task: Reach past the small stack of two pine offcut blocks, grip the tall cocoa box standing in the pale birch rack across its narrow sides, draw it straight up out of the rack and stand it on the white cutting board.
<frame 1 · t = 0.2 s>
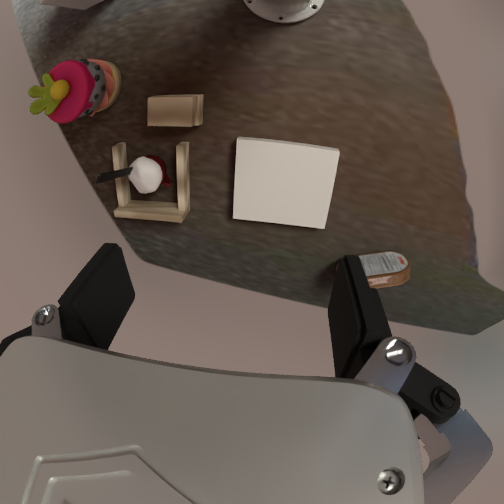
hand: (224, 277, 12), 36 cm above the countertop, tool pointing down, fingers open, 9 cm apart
cocoa: (154, 166, 47), on the countertop
offcut lower: (180, 108, 41), on the countertop, touching offcut upper
cutting board: (283, 181, 46), on the countertop
offcut upper: (174, 109, 39), point 2 cm above the countertop, touching offcut lower
tin: (368, 256, 53), on the countertop
cake: (100, 85, 38), on the countertop
rack: (153, 166, 47), on the countertop
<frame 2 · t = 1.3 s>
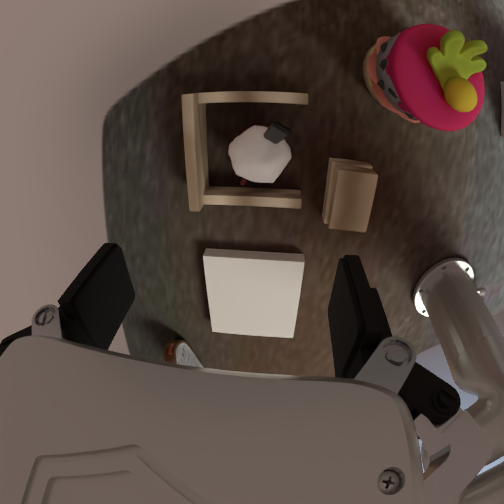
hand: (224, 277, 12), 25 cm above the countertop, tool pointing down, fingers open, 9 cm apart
cocoa: (263, 145, 32), on the countertop
offcut lower: (344, 188, 34), on the countertop, touching offcut upper
cutting board: (253, 293, 45), on the countertop
offcut upper: (349, 194, 32), point 2 cm above the countertop, touching offcut lower
tin: (192, 353, 56), on the countertop
cake: (399, 76, 25), on the countertop
rack: (263, 145, 32), on the countertop
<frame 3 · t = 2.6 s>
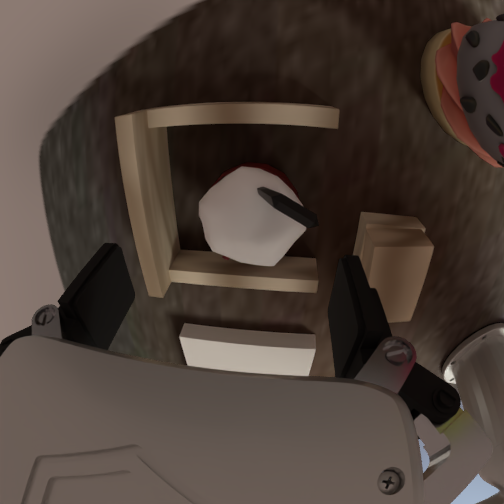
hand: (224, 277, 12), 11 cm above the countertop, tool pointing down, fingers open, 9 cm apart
cocoa: (260, 191, 21), on the countertop
offcut lower: (378, 253, 23), on the countertop, touching offcut upper
cutting board: (248, 371, 33), on the countertop
offcut upper: (387, 268, 21), point 2 cm above the countertop, touching offcut lower
cake: (469, 87, 13), on the countertop
rack: (260, 192, 21), on the countertop
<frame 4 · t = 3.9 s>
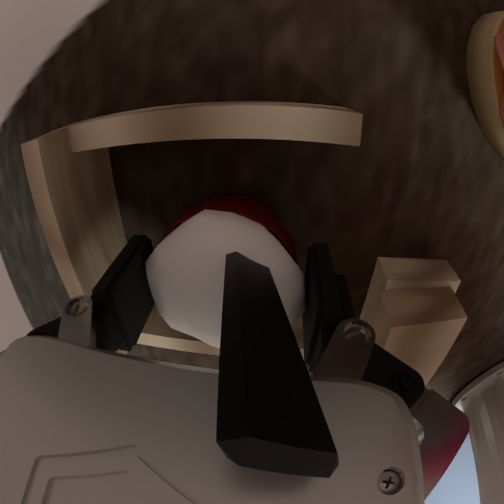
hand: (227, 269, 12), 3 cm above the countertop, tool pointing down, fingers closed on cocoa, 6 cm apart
cocoa: (241, 230, 15), on the countertop, touching gripper
offcut lower: (395, 303, 17), on the countertop, touching offcut upper
offcut upper: (401, 332, 15), point 2 cm above the countertop, touching offcut lower
rack: (239, 232, 15), on the countertop
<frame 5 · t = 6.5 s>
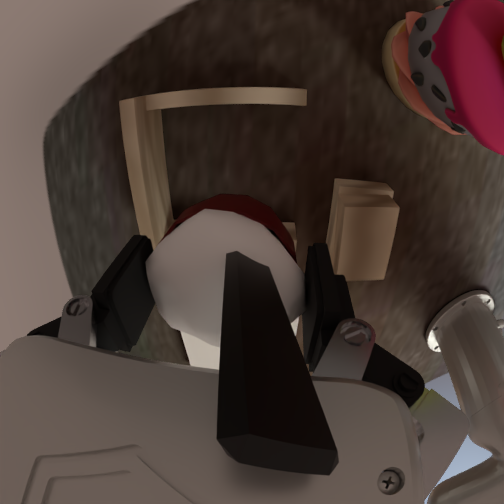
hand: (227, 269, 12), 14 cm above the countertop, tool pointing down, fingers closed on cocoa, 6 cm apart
cocoa: (241, 230, 15), point 10 cm above the countertop, touching gripper
offcut lower: (353, 217, 26), on the countertop, touching offcut upper
cutting board: (239, 338, 36), on the countertop
offcut upper: (359, 231, 24), point 2 cm above the countertop, touching offcut lower
cake: (429, 67, 16), on the countertop
rack: (243, 164, 23), on the countertop
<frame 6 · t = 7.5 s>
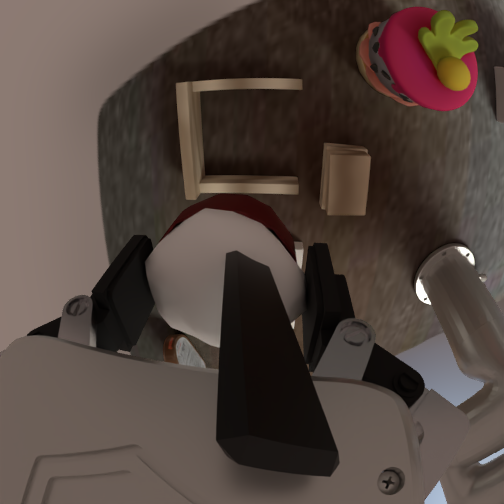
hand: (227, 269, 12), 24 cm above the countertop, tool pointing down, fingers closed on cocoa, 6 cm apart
cocoa: (241, 229, 15), point 21 cm above the countertop, touching gripper
offcut lower: (340, 173, 34), on the countertop
offcut upper: (344, 179, 32), point 2 cm above the countertop
tin: (192, 348, 56), on the countertop
cake: (392, 61, 24), on the countertop
rack: (259, 132, 31), on the countertop
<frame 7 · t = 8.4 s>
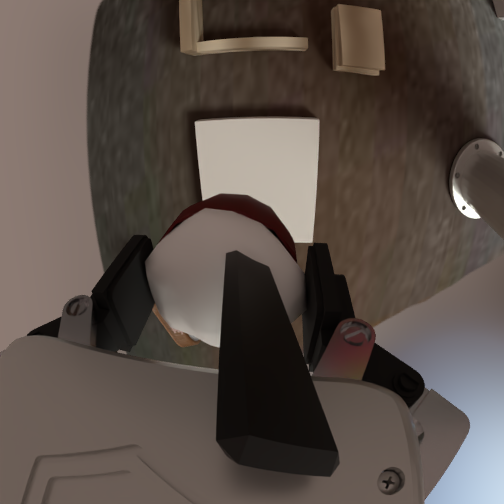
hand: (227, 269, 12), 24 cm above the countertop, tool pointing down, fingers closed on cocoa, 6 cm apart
cocoa: (241, 229, 15), point 21 cm above the countertop, touching gripper
offcut lower: (352, 42, 24), on the countertop, touching offcut upper
cutting board: (259, 179, 35), on the countertop
offcut upper: (356, 39, 22), point 2 cm above the countertop, touching offcut lower
tin: (184, 289, 47), on the countertop
rack: (261, 1, 22), on the countertop
when the fingers open (6 cm above the countertop, at t = 11.8 s): cocoa stays where it is, resting on cutting board.
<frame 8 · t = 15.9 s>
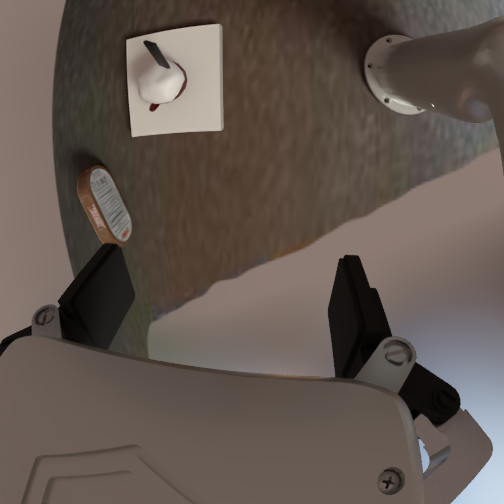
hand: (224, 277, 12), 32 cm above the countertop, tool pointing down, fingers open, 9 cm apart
cocoa: (173, 80, 33), point 2 cm above the countertop, touching cutting board
cutting board: (175, 80, 34), on the countertop
tin: (118, 196, 46), on the countertop
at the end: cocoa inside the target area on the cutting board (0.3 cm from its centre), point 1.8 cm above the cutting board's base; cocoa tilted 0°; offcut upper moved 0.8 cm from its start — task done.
